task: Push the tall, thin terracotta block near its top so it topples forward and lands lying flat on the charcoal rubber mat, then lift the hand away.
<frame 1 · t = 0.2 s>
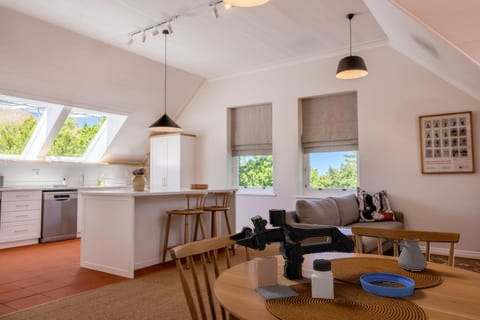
hand: (232, 240, 132), 16 cm above the table, tool horizontal, fingers open, 9 cm apart
coffee pot: (402, 270, 147), on the table
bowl: (386, 290, 124), on the table
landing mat: (276, 292, 121), on the table
terracotta block: (265, 284, 130), on the table
medicine bottle: (322, 295, 118), on the table
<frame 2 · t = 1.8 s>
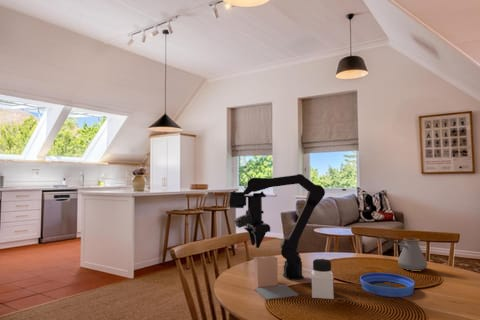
hand: (255, 246, 141), 12 cm above the table, tool pointing down, fingers open, 5 cm apart
nothing on the table moved.
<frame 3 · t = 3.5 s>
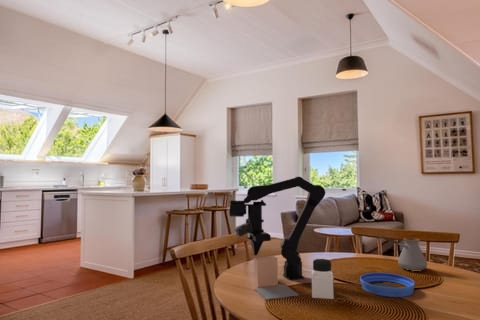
hand: (255, 255, 141), 9 cm above the table, tool pointing down, fingers closed
nothing on the table moved.
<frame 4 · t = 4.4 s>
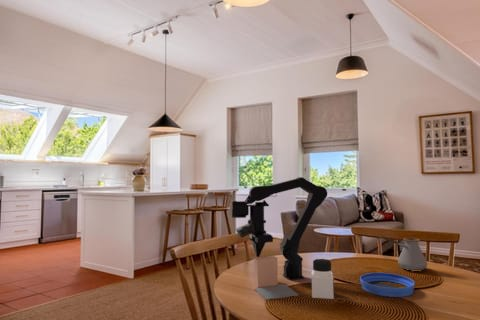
hand: (257, 256, 138), 8 cm above the table, tool pointing down, fingers closed
nothing on the table moved.
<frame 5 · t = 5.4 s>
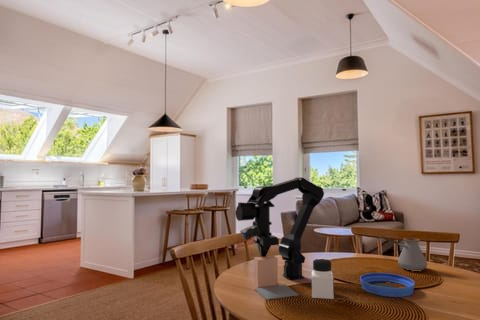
hand: (262, 259, 133), 9 cm above the table, tool pointing down, fingers closed
terracotta block: (265, 284, 130), on the table, touching gripper
everything else where it was.
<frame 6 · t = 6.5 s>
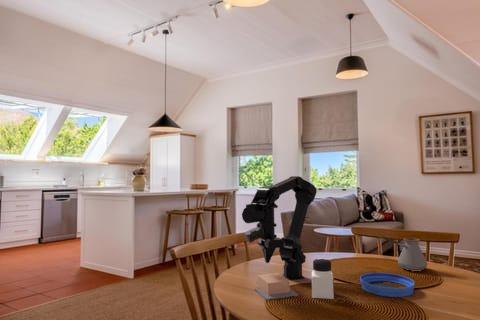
hand: (267, 262, 129), 9 cm above the table, tool pointing down, fingers closed
terracotta block: (267, 279, 128), point 2 cm above the table, tilted 90°, touching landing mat
everything else where it was.
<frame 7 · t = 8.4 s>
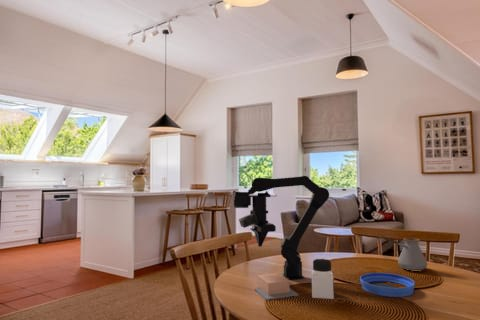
hand: (259, 246, 141), 12 cm above the table, tool pointing down, fingers closed
nothing on the table moved.
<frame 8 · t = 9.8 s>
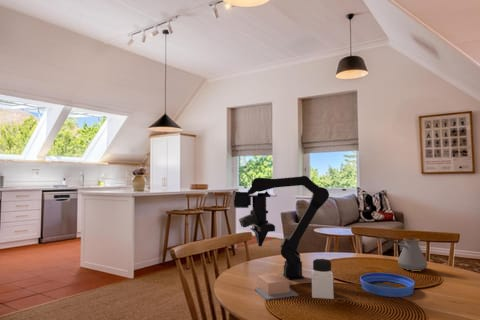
hand: (259, 246, 142), 12 cm above the table, tool pointing down, fingers closed
nothing on the table moved.
at the end: terracotta block tilted 90°; terracotta block touching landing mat; the gripper is holding nothing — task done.
